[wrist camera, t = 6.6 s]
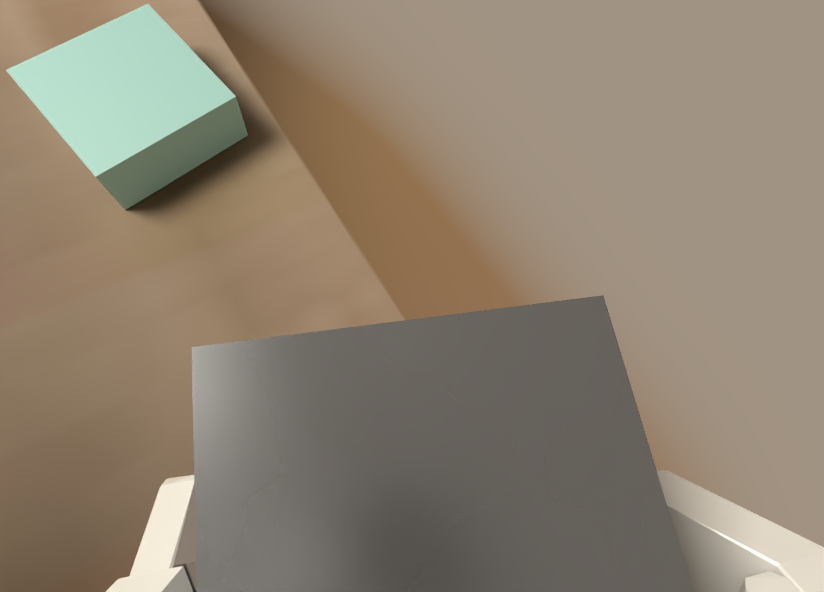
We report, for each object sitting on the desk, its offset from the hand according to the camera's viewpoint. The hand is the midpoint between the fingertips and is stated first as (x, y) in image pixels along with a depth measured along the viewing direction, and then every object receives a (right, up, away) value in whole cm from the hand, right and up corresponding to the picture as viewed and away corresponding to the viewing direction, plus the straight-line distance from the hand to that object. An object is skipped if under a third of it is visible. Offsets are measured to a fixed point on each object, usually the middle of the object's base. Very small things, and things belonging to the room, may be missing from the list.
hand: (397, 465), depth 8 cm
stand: (-19, +16, +26) cm, 36 cm away
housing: (-1, -2, +5) cm, 6 cm away
